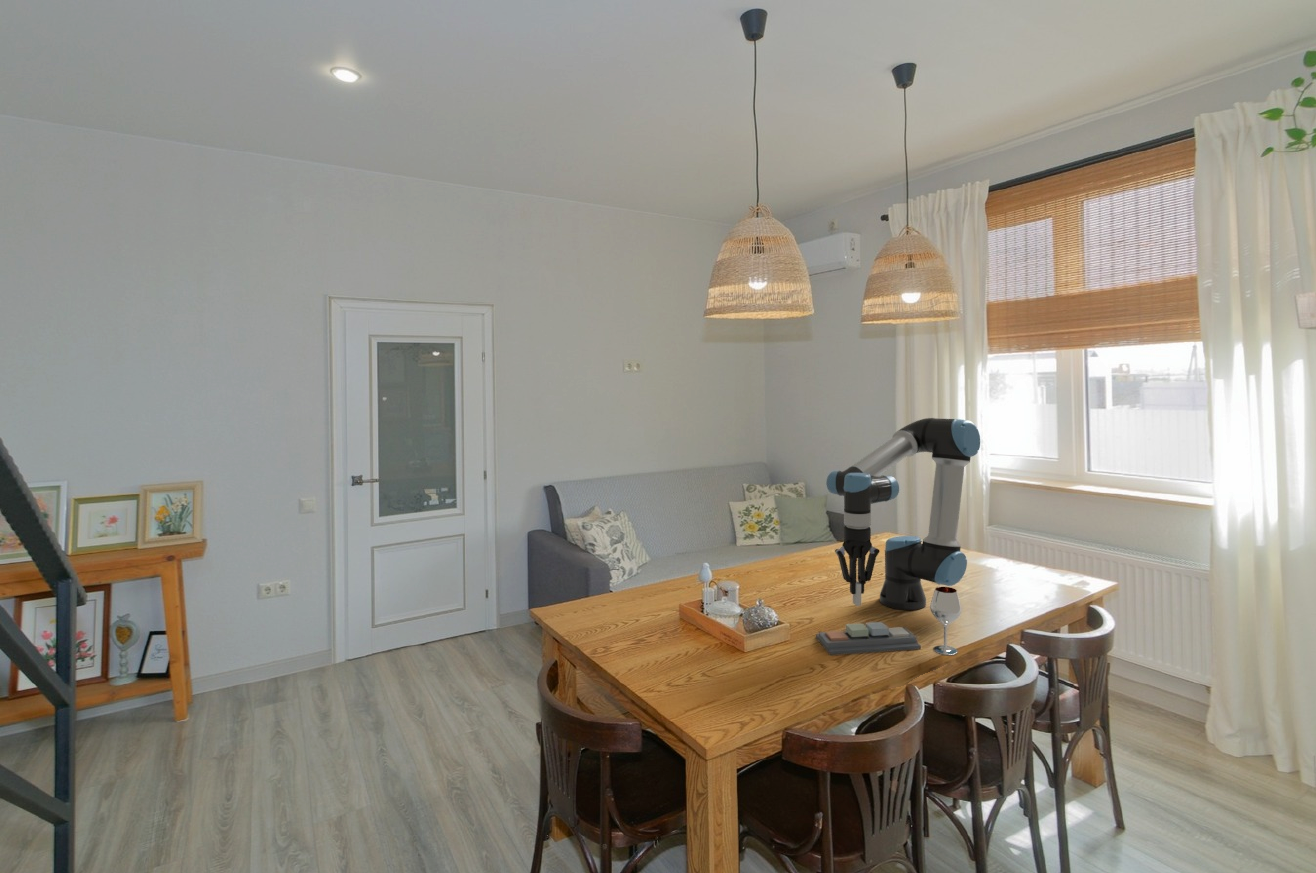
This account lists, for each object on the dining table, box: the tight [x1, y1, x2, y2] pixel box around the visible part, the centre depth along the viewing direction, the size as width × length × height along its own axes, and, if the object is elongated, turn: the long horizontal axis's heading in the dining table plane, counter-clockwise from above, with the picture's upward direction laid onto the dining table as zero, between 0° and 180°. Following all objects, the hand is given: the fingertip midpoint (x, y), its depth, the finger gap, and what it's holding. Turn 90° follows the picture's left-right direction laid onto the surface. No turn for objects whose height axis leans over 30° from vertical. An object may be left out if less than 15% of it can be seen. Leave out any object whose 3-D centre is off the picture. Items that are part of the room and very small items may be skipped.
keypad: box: [815, 626, 922, 656], centre depth 200 cm, size 27×13×2 cm, turn 95°
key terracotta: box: [825, 630, 848, 641], centre depth 199 cm, size 5×5×2 cm
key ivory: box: [888, 626, 909, 637], centre depth 201 cm, size 5×5×2 cm
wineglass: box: [929, 586, 962, 656], centre depth 193 cm, size 8×8×18 cm
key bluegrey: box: [865, 621, 890, 636], centre depth 200 cm, size 5×5×2 cm
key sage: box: [845, 622, 868, 637], centre depth 200 cm, size 5×5×2 cm
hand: (856, 604), depth 199 cm, fingers closed
